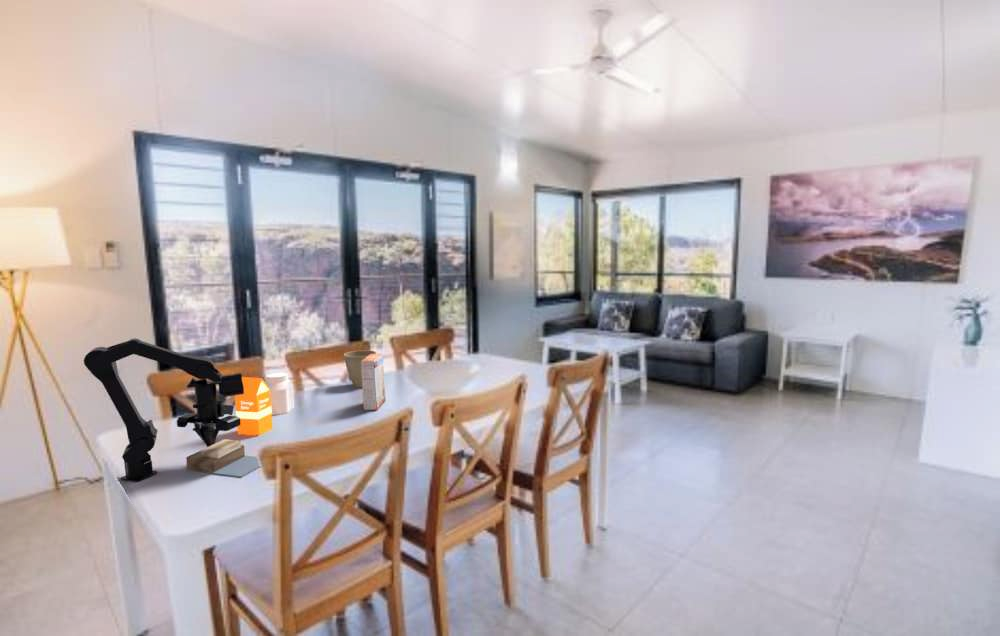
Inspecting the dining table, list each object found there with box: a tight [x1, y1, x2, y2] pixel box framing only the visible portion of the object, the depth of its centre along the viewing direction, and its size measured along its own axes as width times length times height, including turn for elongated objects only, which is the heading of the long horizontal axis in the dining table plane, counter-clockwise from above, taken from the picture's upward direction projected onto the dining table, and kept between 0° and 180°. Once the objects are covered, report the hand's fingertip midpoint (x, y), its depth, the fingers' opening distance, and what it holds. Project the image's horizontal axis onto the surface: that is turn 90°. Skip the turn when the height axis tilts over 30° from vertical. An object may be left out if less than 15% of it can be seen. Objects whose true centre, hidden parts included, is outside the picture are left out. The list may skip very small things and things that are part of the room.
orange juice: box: [234, 376, 273, 436], centre depth 184 cm, size 8×9×20 cm
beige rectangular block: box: [200, 438, 242, 458], centre depth 156 cm, size 6×9×2 cm, turn 165°
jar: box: [265, 372, 295, 416], centre depth 209 cm, size 12×10×15 cm
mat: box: [212, 455, 261, 478], centre depth 155 cm, size 10×13×1 cm
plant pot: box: [343, 349, 377, 389], centre depth 246 cm, size 15×15×16 cm
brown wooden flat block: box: [185, 444, 246, 474], centre depth 157 cm, size 10×12×4 cm
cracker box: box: [361, 353, 386, 411], centre depth 213 cm, size 14×6×21 cm, turn 178°
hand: (211, 448), depth 157 cm, fingers closed
